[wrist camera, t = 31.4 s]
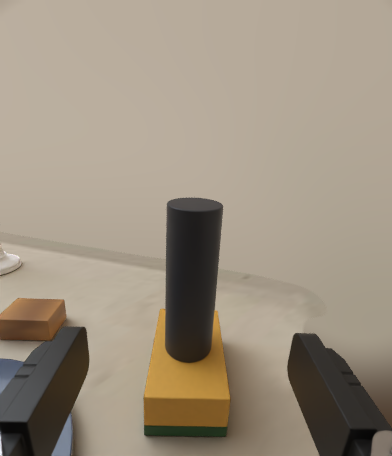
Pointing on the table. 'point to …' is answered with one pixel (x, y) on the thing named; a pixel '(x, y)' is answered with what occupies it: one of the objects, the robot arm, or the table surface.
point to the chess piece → (8, 262)
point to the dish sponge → (189, 330)
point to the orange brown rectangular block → (32, 319)
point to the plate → (63, 452)
